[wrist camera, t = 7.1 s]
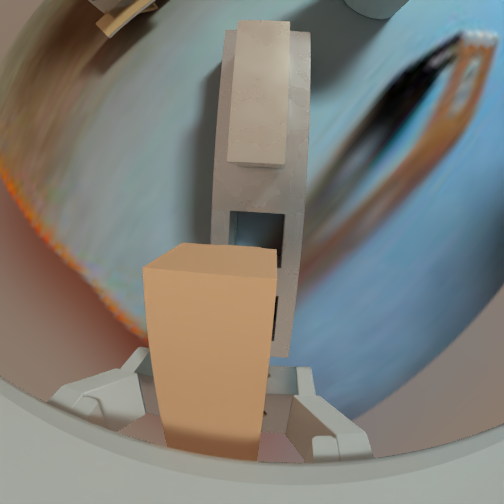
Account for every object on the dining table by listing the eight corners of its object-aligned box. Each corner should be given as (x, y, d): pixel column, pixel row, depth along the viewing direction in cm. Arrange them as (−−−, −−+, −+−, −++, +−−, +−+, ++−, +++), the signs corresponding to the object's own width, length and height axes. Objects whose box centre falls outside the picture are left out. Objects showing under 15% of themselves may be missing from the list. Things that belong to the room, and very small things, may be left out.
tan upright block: (276, 230, 13) (277, 279, 6) (262, 390, 15) (252, 493, 8) (209, 226, 13) (142, 267, 6) (209, 385, 15) (176, 481, 8)
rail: (306, 52, 18) (315, 6, 12) (287, 335, 24) (288, 386, 17) (233, 49, 19) (215, 5, 12) (218, 329, 24) (198, 376, 18)
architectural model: (182, 6, 18) (155, -37, 11) (127, 51, 20) (85, 20, 13) (165, -7, 18) (136, -46, 11) (112, 36, 19) (72, 6, 12)
